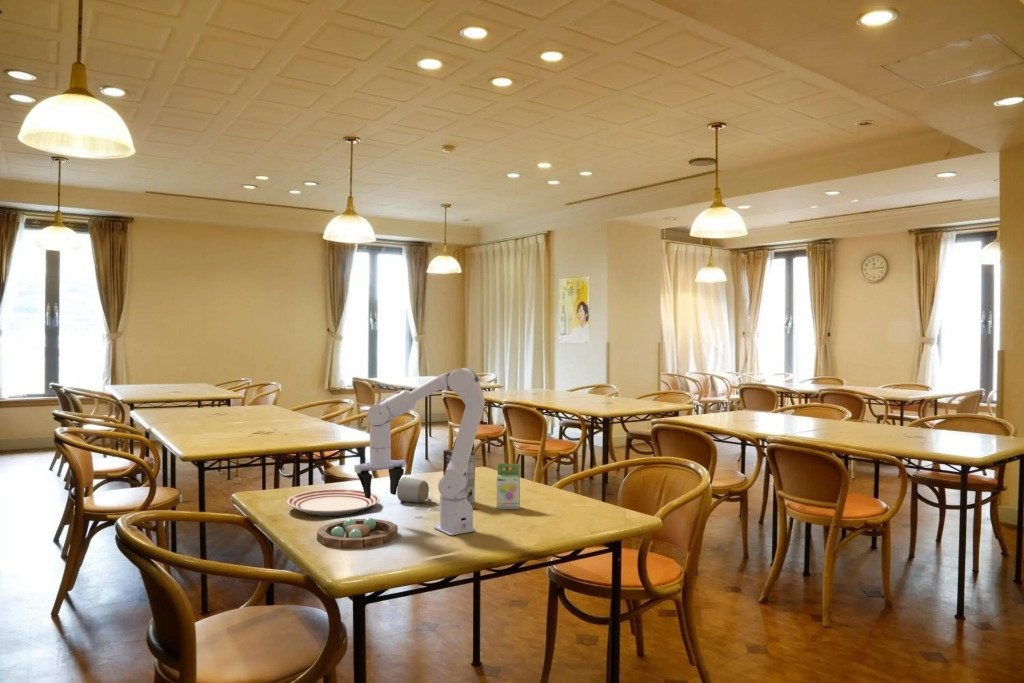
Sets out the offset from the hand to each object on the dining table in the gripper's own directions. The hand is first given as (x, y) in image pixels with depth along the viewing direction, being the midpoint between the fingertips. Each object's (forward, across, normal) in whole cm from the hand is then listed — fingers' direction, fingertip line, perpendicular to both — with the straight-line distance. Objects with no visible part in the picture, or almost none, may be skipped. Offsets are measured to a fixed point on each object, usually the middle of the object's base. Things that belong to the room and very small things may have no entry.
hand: (380, 496), depth 196 cm
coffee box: (+9, -33, -13) cm, 36 cm away
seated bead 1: (+8, +16, +8) cm, 19 cm away
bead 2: (+8, +6, +4) cm, 11 cm away
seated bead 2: (+8, +13, +13) cm, 20 cm away
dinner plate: (+9, +3, -27) cm, 29 cm away
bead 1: (+8, +10, +2) cm, 13 cm away
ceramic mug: (+9, -22, -22) cm, 32 cm away
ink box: (+9, -41, +4) cm, 42 cm away
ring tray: (+8, +10, +8) cm, 15 cm away
